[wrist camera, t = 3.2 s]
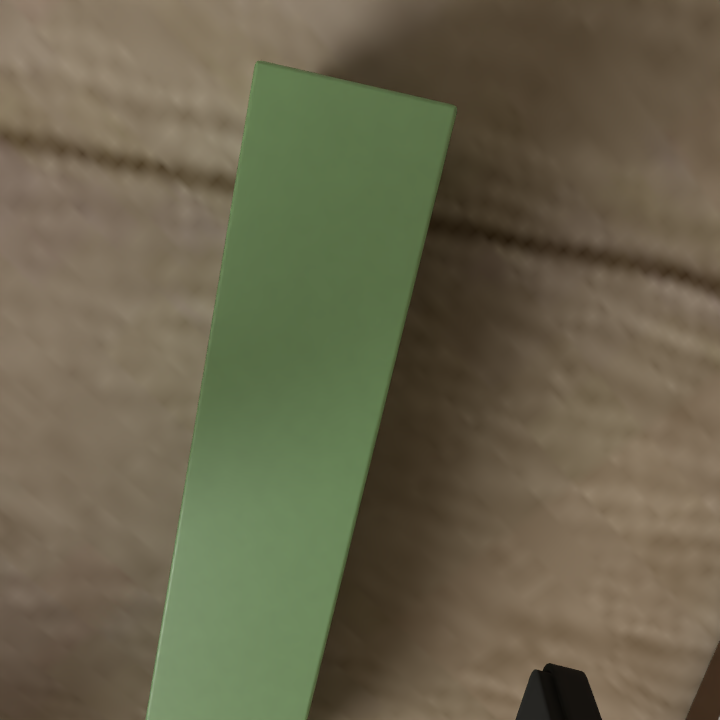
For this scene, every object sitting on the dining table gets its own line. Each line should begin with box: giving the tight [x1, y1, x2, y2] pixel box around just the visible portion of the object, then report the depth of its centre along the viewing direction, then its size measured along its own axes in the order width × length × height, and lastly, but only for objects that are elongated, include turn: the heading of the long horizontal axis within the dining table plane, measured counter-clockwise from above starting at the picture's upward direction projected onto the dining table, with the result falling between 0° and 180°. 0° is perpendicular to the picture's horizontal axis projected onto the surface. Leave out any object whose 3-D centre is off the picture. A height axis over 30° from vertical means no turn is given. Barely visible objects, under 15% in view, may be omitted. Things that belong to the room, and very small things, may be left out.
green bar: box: [146, 61, 457, 720], centre depth 15 cm, size 18×4×4 cm, turn 167°
